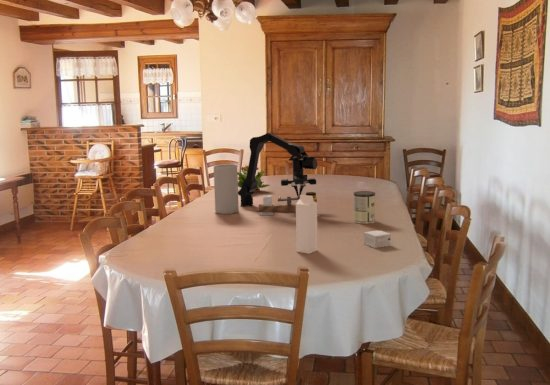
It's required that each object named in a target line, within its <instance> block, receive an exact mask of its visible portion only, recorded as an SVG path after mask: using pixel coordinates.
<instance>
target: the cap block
mask: <svg viewBox="0 0 550 385" xmlns="http://www.w3.org/2000/svg"><path fill="white" fill-rule="evenodd" d="M262 196H263V198H262V199H263V204H264V206H272V204H273V195H268V194H267V195H262Z"/></svg>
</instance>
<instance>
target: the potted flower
mask: <svg viewBox="0 0 550 385" xmlns="http://www.w3.org/2000/svg"><path fill="white" fill-rule="evenodd" d="M248 166H249V165H246V164H245V166H241V167H240V170H241V172H238V188H240V189H241V188H242V184H243V182H244V180H245V178H246V177H247V172H248ZM258 170H260V169H259V167H257V170H256V171H257V172H256V175H255V179H256V181H258V184H257V188H256V190H255V191H254V193H257V192H260V191H261V189H262V188H267V187H270V186H271V185H270V184H263V181H262V177H263V175H264V173H265V172H266V170H261V171H258Z"/></svg>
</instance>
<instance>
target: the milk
mask: <svg viewBox="0 0 550 385" xmlns="http://www.w3.org/2000/svg"><path fill="white" fill-rule="evenodd" d="M295 204H296V211H295V230H296V232H295V236H296V238H295V240H296V246H295V247H296V250H295V251H296V252H297V253H302V254H308V255H309V254H312V253H314V252H315V253H316V252H317V251H318V216H317V215H318V202H317V203H316V202H315V201H314V200H313V196H308V195H306V194H301V195H300V199H299V200H297V202H296V203H295Z"/></svg>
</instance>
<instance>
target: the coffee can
mask: <svg viewBox="0 0 550 385" xmlns="http://www.w3.org/2000/svg"><path fill="white" fill-rule="evenodd" d="M353 222H354V223H355V224H367V225H368V224H373V223H375V222H376V192H375V191H371V190H365V191H364V190H362V191H361V190H360V191H354V192H353Z"/></svg>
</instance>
